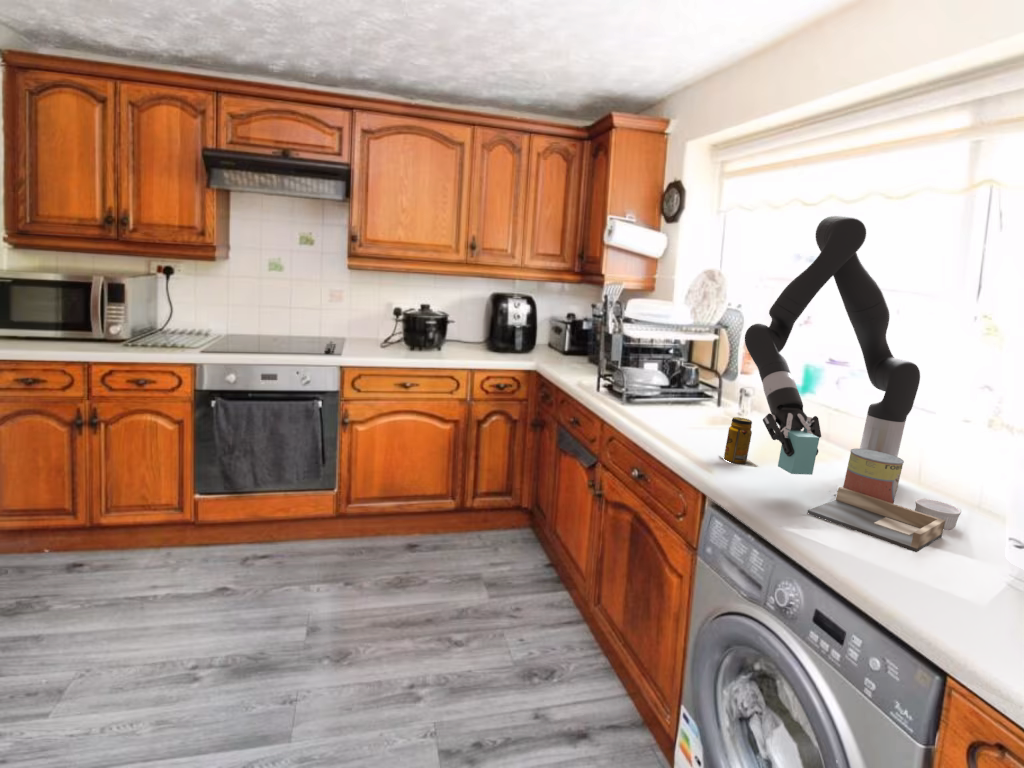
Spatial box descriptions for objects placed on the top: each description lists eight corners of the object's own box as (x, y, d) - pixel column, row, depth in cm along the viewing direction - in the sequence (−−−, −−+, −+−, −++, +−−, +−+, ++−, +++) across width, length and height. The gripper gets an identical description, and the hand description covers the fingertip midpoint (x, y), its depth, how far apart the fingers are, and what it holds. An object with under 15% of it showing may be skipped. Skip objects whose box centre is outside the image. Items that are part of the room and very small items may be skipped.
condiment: (718, 456, 188) (725, 415, 186) (746, 458, 189) (754, 417, 187) (728, 464, 181) (736, 421, 179) (758, 467, 182) (766, 424, 180)
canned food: (891, 516, 153) (903, 466, 151) (837, 502, 159) (848, 454, 156) (893, 504, 162) (904, 457, 160) (843, 491, 168) (852, 445, 166)
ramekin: (958, 535, 146) (963, 516, 145) (912, 523, 150) (916, 505, 149) (955, 523, 154) (959, 505, 153) (910, 512, 158) (915, 495, 157)
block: (798, 466, 161) (804, 431, 160) (812, 474, 156) (819, 437, 154) (777, 466, 160) (784, 430, 159) (791, 473, 155) (798, 436, 153)
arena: (837, 502, 159) (840, 486, 158) (941, 537, 143) (945, 520, 142) (807, 513, 148) (810, 497, 147) (916, 552, 132) (920, 534, 131)
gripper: (763, 384, 160) (784, 446, 151) (816, 387, 163) (839, 449, 154) (748, 400, 166) (766, 461, 157) (799, 403, 169) (820, 463, 160)
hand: (802, 455), depth 156 cm, fingers closed on block, 5 cm apart
